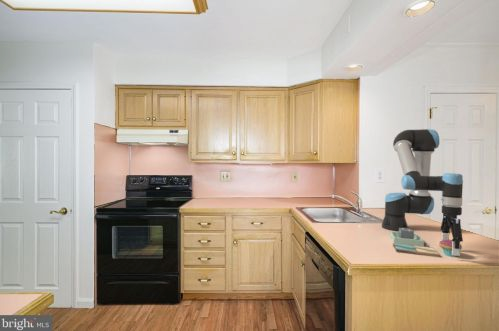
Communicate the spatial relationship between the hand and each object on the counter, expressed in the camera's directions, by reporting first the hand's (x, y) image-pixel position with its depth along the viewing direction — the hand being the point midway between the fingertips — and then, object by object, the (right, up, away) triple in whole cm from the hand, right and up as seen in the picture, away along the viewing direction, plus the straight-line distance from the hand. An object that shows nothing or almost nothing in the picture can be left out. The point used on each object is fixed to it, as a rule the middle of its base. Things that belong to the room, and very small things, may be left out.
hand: (450, 250), depth 123 cm
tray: (-9, -1, +20) cm, 22 cm away
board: (-14, -2, +5) cm, 15 cm away
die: (-9, -1, +20) cm, 22 cm away
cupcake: (0, -2, 0) cm, 2 cm away
